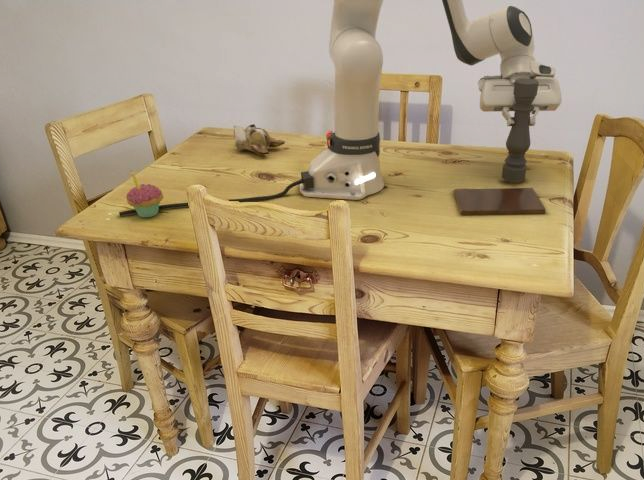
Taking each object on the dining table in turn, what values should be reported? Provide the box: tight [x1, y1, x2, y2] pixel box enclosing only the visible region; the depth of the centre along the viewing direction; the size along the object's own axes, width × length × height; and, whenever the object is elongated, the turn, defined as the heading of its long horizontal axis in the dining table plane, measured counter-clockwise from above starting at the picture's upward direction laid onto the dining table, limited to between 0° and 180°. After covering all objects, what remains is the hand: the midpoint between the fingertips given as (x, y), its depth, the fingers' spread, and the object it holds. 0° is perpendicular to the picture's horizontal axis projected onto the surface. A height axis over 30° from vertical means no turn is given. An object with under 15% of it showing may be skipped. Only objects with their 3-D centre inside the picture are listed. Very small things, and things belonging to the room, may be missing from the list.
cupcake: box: [126, 169, 164, 218], centre depth 146 cm, size 9×8×12 cm
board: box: [453, 187, 546, 216], centre depth 150 cm, size 20×13×1 cm, turn 89°
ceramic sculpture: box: [233, 124, 286, 156], centre depth 183 cm, size 11×9×15 cm
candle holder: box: [501, 78, 539, 183], centre depth 154 cm, size 6×6×25 cm
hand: (521, 125), depth 153 cm, fingers closed on candle holder, 4 cm apart
